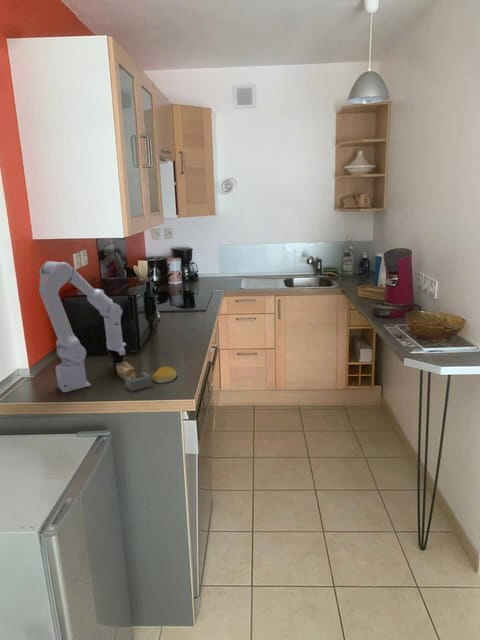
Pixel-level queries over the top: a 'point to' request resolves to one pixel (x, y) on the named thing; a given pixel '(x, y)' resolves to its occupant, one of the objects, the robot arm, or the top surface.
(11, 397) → the top surface
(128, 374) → the brown wooden block
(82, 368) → the robot arm
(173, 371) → the bread roll
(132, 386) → the end cap
